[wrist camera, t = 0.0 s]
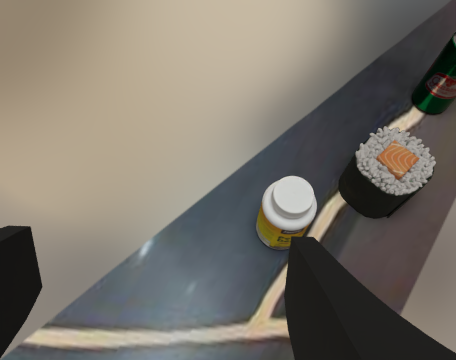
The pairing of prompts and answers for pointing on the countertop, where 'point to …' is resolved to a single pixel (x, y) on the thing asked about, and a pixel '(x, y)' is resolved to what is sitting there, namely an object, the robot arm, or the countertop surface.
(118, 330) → the countertop surface
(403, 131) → the sushi
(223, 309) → the countertop surface
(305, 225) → the supplement bottle
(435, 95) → the soda can
